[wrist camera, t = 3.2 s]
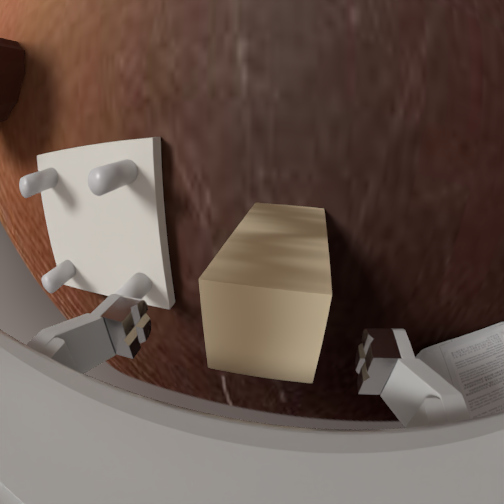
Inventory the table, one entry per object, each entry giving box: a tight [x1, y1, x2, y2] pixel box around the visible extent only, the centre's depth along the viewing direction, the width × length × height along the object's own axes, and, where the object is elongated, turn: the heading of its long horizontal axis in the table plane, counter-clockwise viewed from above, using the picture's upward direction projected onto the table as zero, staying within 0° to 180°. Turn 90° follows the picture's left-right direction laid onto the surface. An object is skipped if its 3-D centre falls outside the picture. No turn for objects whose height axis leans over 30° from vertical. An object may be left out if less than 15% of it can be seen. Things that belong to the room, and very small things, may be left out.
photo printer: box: [416, 322, 504, 419], centre depth 12 cm, size 10×4×12 cm, turn 110°
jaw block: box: [199, 203, 332, 383], centre depth 13 cm, size 4×4×9 cm
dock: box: [19, 137, 175, 309], centre depth 18 cm, size 12×12×4 cm
